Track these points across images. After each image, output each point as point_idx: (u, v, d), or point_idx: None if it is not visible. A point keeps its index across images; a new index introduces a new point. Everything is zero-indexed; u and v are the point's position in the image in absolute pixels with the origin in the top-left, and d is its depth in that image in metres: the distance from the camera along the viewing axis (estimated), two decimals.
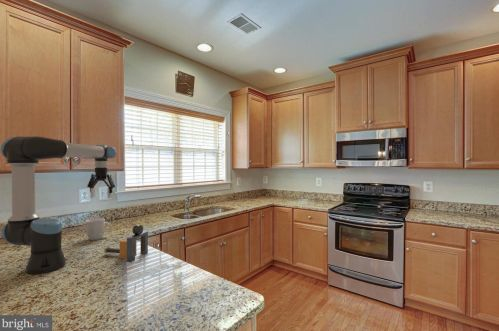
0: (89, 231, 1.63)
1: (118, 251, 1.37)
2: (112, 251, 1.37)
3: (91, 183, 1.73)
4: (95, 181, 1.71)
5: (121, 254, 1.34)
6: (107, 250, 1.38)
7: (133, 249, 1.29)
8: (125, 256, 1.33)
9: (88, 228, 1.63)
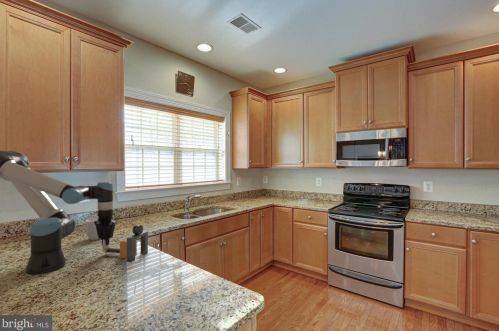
0: (89, 231, 1.63)
1: (118, 251, 1.37)
2: (112, 251, 1.37)
3: None
4: (102, 228, 1.38)
5: (121, 254, 1.34)
6: (107, 250, 1.38)
7: (133, 249, 1.29)
8: (125, 256, 1.33)
9: (88, 228, 1.63)
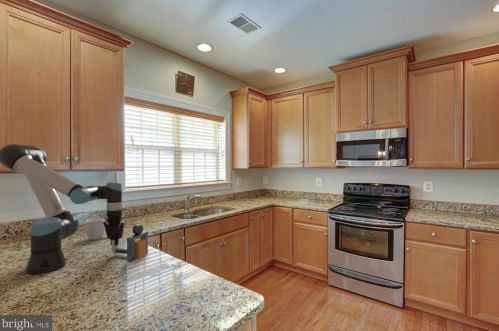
0: (89, 231, 1.63)
1: None
2: (121, 252, 1.36)
3: None
4: (111, 228, 1.37)
5: None
6: (116, 251, 1.37)
7: (133, 249, 1.29)
8: (135, 257, 1.32)
9: (88, 228, 1.63)
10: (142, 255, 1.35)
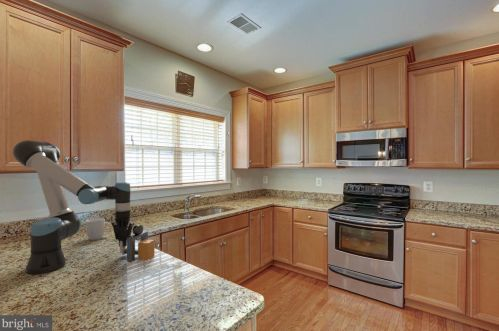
0: (89, 231, 1.63)
1: (136, 252, 1.34)
2: None
3: None
4: (120, 229, 1.36)
5: (139, 255, 1.32)
6: (125, 251, 1.36)
7: (133, 249, 1.29)
8: (144, 257, 1.31)
9: (88, 228, 1.63)
10: (151, 256, 1.33)
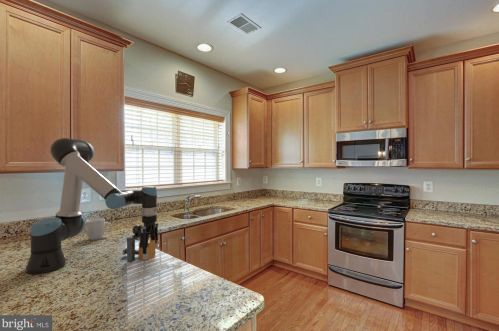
0: (89, 231, 1.63)
1: (137, 252, 1.34)
2: None
3: (155, 235, 1.39)
4: (149, 232, 1.36)
5: (140, 255, 1.32)
6: (125, 251, 1.36)
7: (133, 249, 1.29)
8: None
9: (88, 228, 1.63)
10: (151, 256, 1.33)
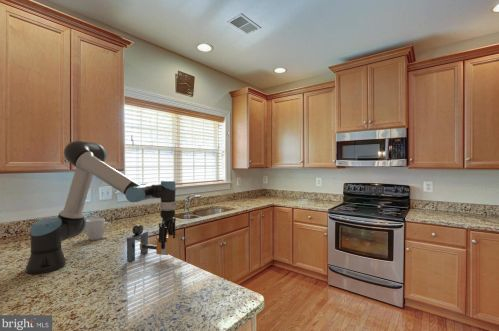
0: (89, 231, 1.63)
1: (154, 247, 1.32)
2: (148, 247, 1.33)
3: None
4: None
5: (158, 250, 1.30)
6: (143, 246, 1.34)
7: (133, 249, 1.29)
8: None
9: (88, 228, 1.63)
10: (169, 251, 1.31)
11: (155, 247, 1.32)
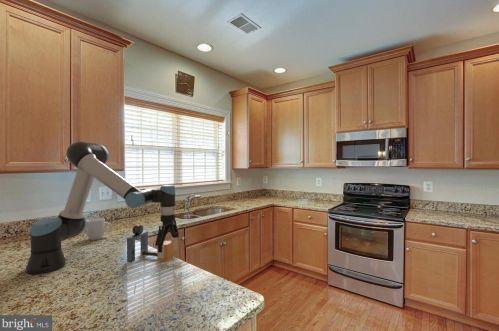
0: (89, 231, 1.63)
1: (155, 254, 1.32)
2: (148, 254, 1.33)
3: (175, 231, 1.40)
4: (169, 230, 1.36)
5: None
6: (143, 253, 1.34)
7: (133, 249, 1.29)
8: (163, 259, 1.29)
9: (88, 228, 1.63)
10: (170, 257, 1.31)
11: (156, 254, 1.32)
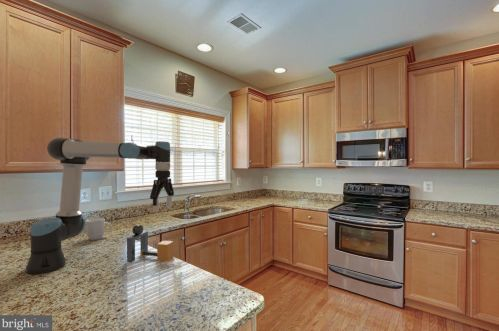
0: (89, 231, 1.63)
1: (155, 254, 1.32)
2: (148, 254, 1.33)
3: None
4: (164, 187, 1.36)
5: (159, 257, 1.30)
6: (143, 253, 1.34)
7: (133, 249, 1.29)
8: (163, 259, 1.29)
9: (88, 228, 1.63)
10: (170, 257, 1.31)
11: (156, 254, 1.32)
